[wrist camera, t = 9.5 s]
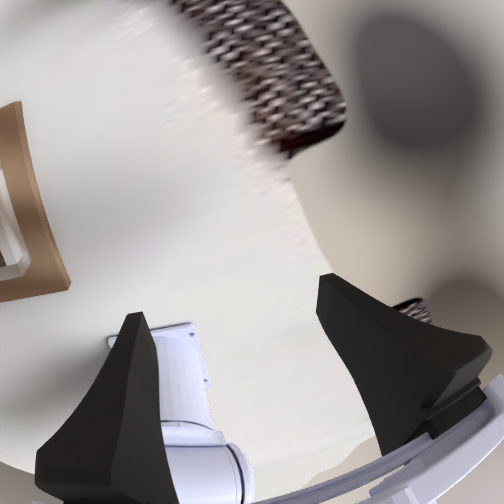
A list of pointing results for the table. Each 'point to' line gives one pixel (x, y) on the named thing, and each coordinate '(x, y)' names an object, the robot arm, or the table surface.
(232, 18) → the table surface
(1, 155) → the walnut housing
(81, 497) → the robot arm
